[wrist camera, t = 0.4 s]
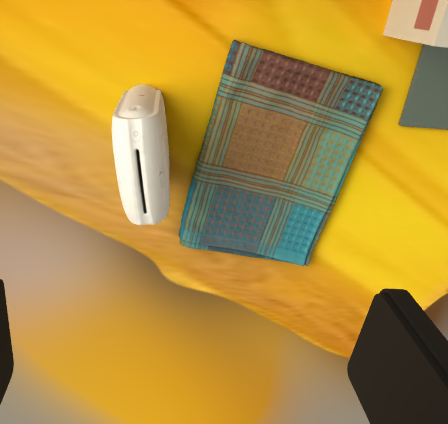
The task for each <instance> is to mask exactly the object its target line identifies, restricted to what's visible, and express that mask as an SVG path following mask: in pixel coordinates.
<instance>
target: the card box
mask: <svg viewBox="0 0 448 424" xmlns="http://www.w3.org/2000/svg"><path fill="white" fill-rule="evenodd" d="M383 35H384V36H388V37H393V38H398V39H402V40H407V41H412V42H417V43H421V44H426V45H431V46H437V47H446V48H448V0H392V4H391V8H390V12H389V15H388V19H387V23H386V27H385V31H384V34H383Z"/></svg>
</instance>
